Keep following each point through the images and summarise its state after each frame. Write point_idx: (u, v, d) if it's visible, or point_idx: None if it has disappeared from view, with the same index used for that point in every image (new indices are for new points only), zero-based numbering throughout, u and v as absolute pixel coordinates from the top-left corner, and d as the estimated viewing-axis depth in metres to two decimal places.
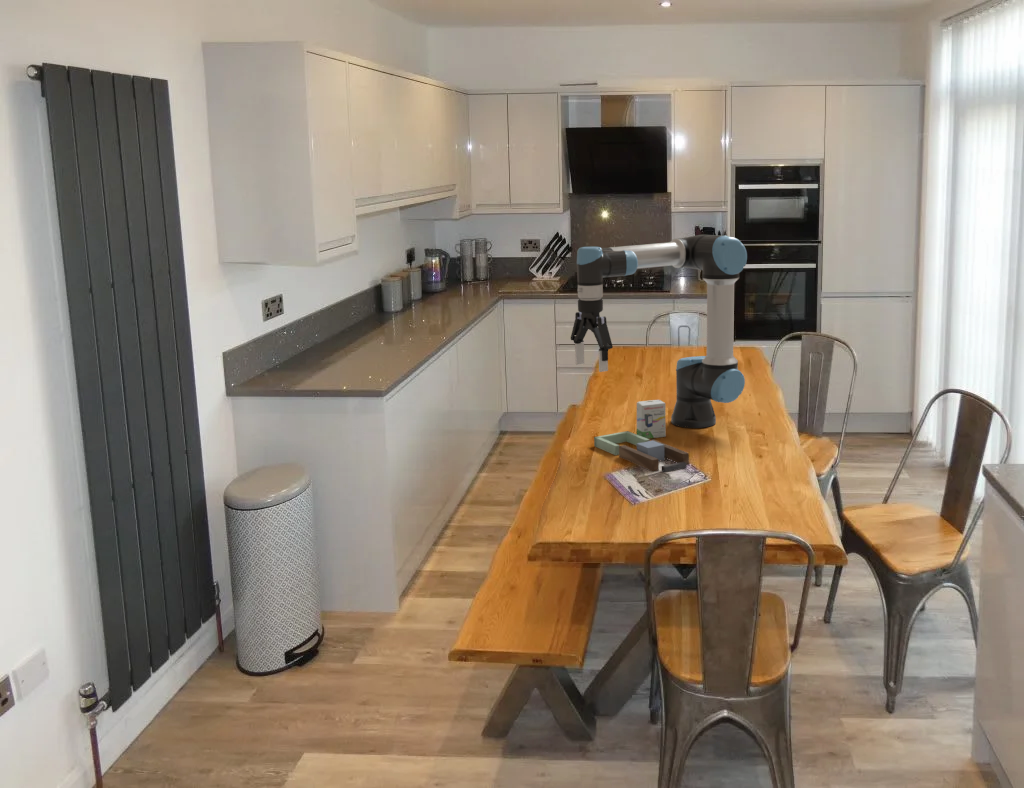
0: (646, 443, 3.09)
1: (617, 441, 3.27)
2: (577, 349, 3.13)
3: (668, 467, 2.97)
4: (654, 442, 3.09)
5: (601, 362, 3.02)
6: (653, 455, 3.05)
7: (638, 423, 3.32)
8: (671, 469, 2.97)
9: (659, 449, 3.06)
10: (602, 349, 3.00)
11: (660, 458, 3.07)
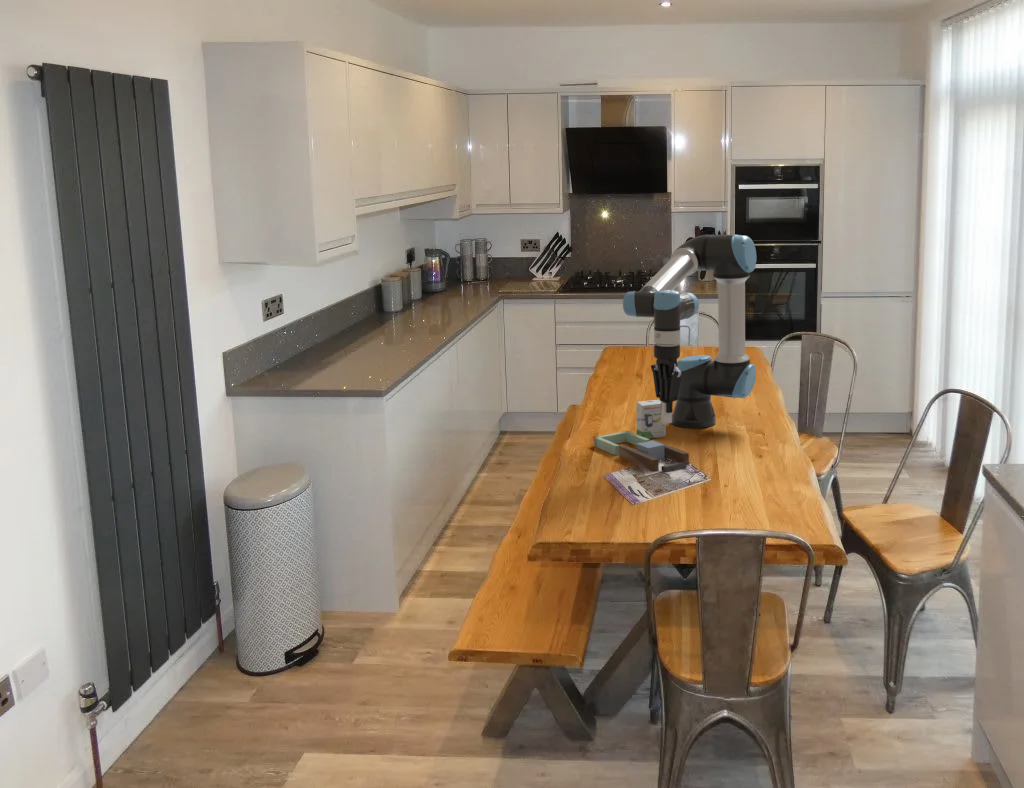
0: (646, 443, 3.09)
1: (617, 441, 3.27)
2: None
3: (668, 467, 2.97)
4: (654, 442, 3.09)
5: (665, 414, 2.97)
6: (653, 455, 3.05)
7: (638, 423, 3.32)
8: (671, 469, 2.97)
9: (659, 449, 3.06)
10: (666, 402, 2.95)
11: (660, 458, 3.07)
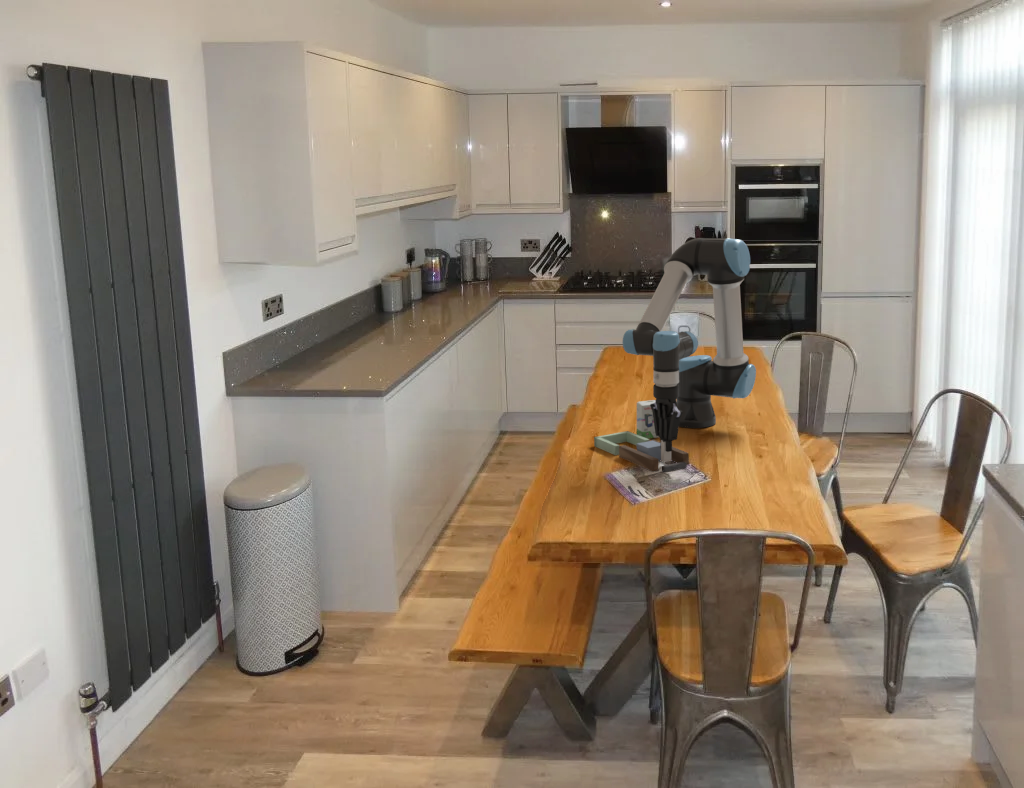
0: (646, 443, 3.09)
1: (617, 441, 3.27)
2: None
3: (668, 467, 2.97)
4: (654, 442, 3.09)
5: (665, 452, 3.00)
6: (653, 455, 3.05)
7: (638, 423, 3.32)
8: (671, 469, 2.97)
9: (659, 449, 3.06)
10: (666, 441, 2.98)
11: (660, 458, 3.07)
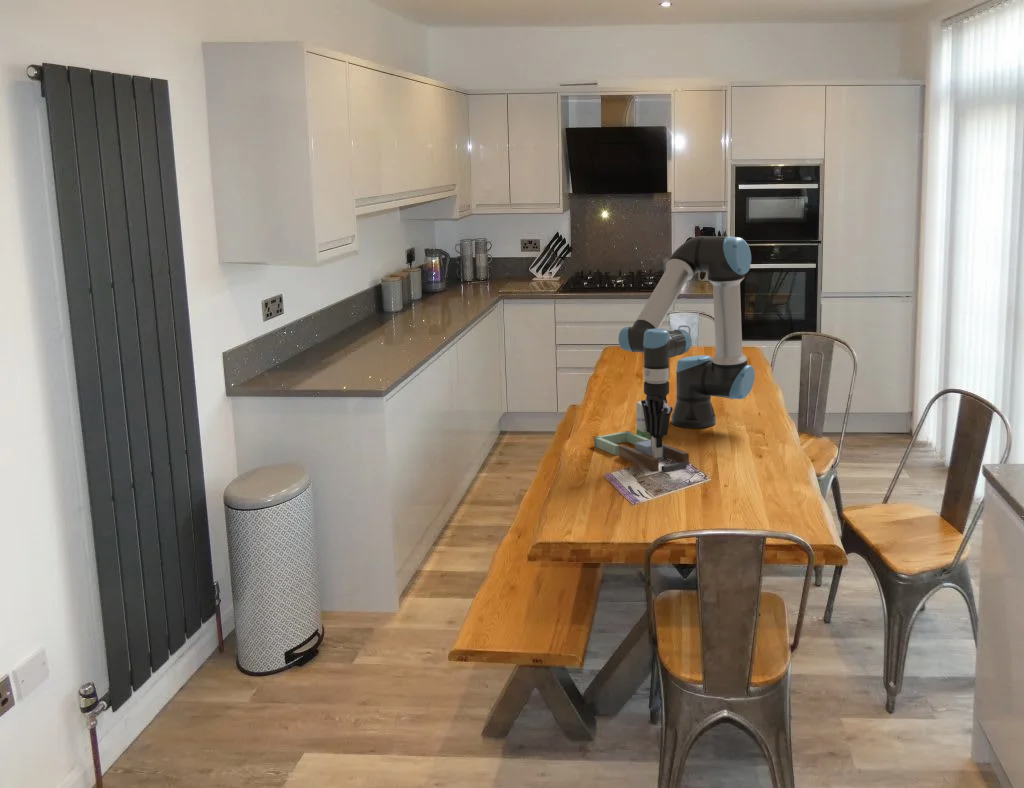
0: (645, 442, 3.09)
1: (617, 441, 3.27)
2: None
3: (668, 467, 2.97)
4: None
5: (655, 449, 3.04)
6: None
7: (638, 423, 3.32)
8: (671, 469, 2.97)
9: None
10: (656, 437, 3.02)
11: (659, 457, 3.07)
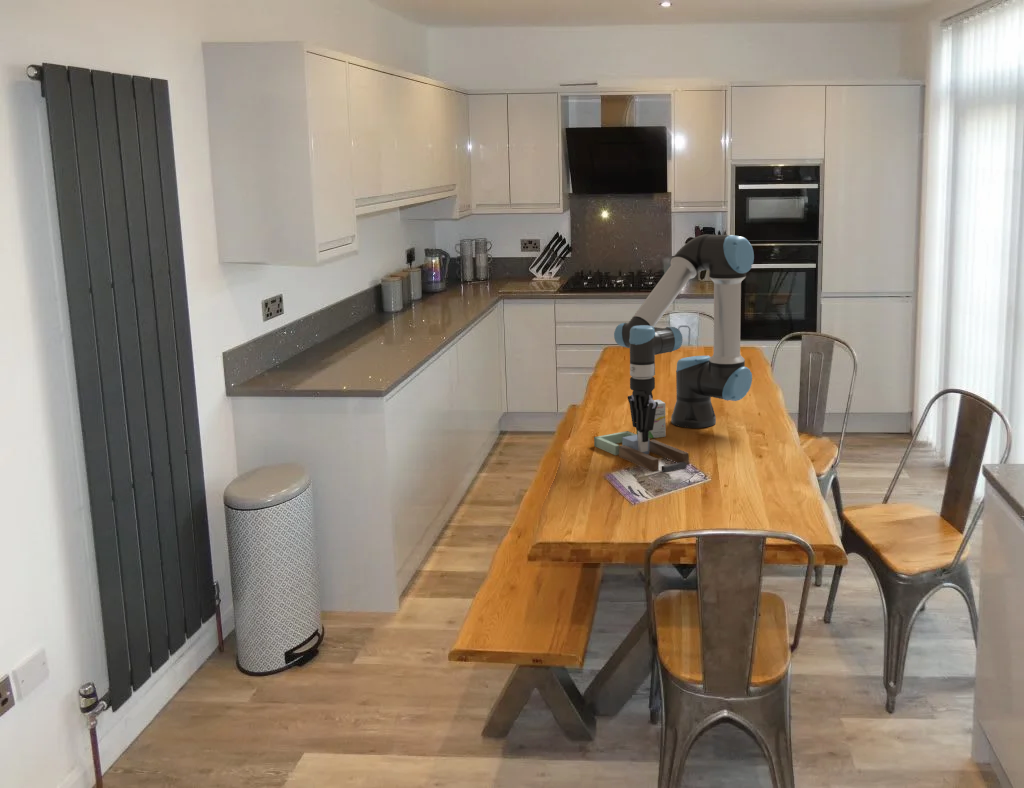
0: (631, 437, 3.15)
1: (617, 441, 3.27)
2: None
3: (668, 467, 2.97)
4: None
5: (641, 443, 3.11)
6: None
7: None
8: (671, 469, 2.97)
9: None
10: (642, 432, 3.09)
11: (645, 451, 3.14)
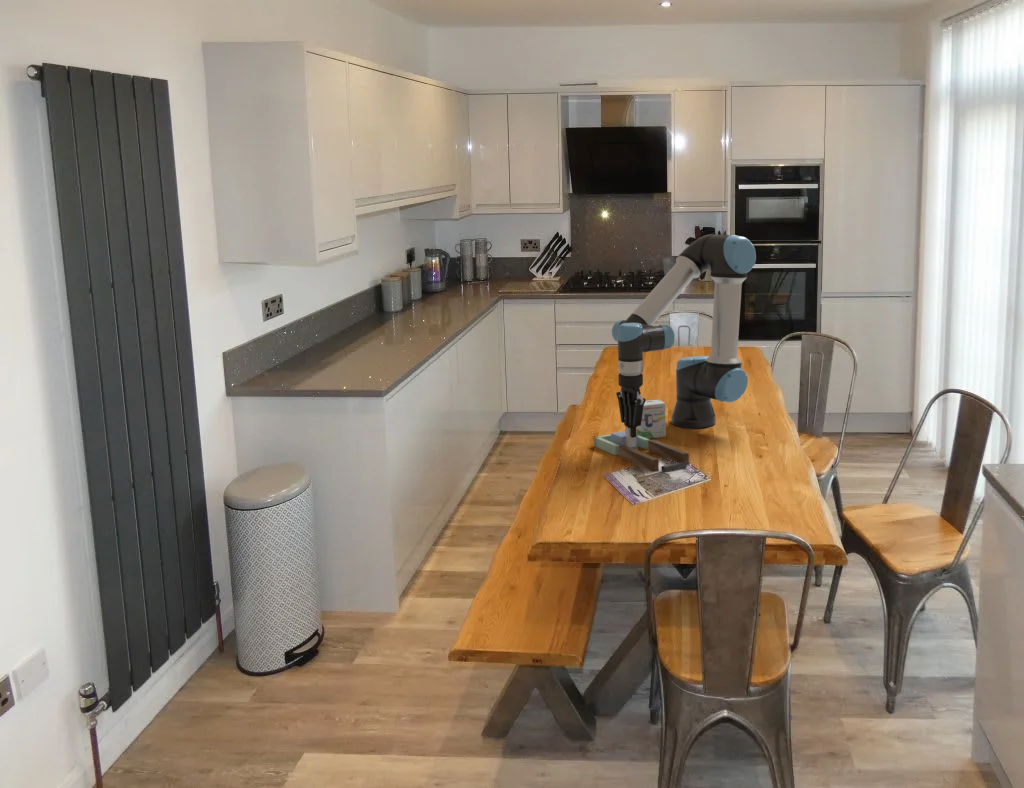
0: (620, 433, 3.21)
1: None
2: None
3: (668, 467, 2.97)
4: None
5: (630, 438, 3.16)
6: None
7: None
8: (671, 469, 2.97)
9: None
10: (630, 427, 3.14)
11: (633, 447, 3.19)
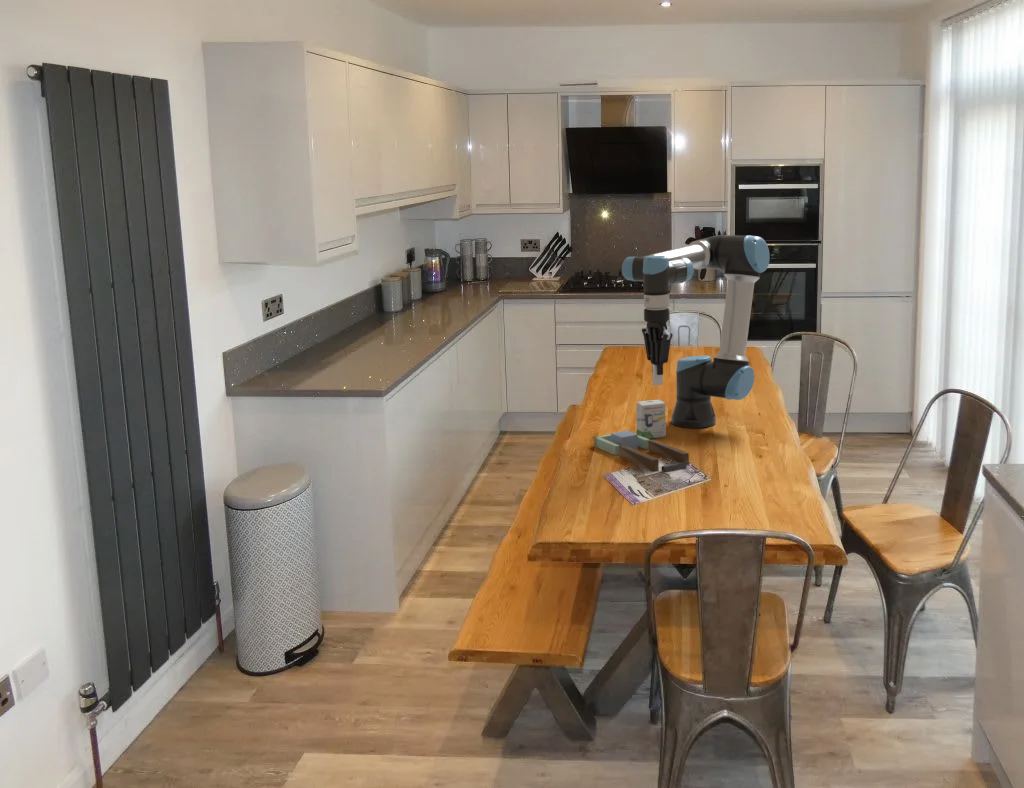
0: (620, 433, 3.21)
1: None
2: None
3: (668, 467, 2.97)
4: (628, 432, 3.21)
5: (656, 376, 3.05)
6: (626, 444, 3.18)
7: (638, 423, 3.32)
8: (671, 469, 2.97)
9: (632, 439, 3.18)
10: (657, 364, 3.03)
11: (633, 447, 3.19)
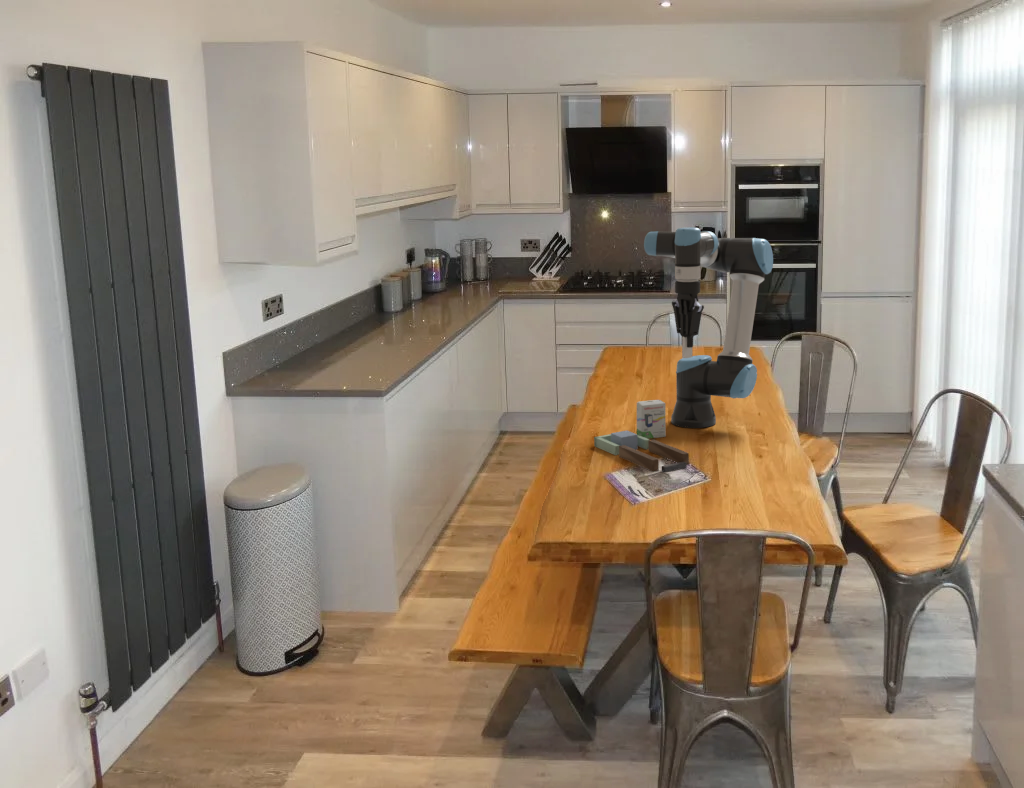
0: (620, 433, 3.21)
1: None
2: None
3: (668, 467, 2.97)
4: (628, 432, 3.21)
5: (686, 349, 3.05)
6: (626, 444, 3.18)
7: (638, 423, 3.32)
8: (671, 469, 2.97)
9: (632, 439, 3.18)
10: (687, 337, 3.03)
11: (633, 447, 3.19)
